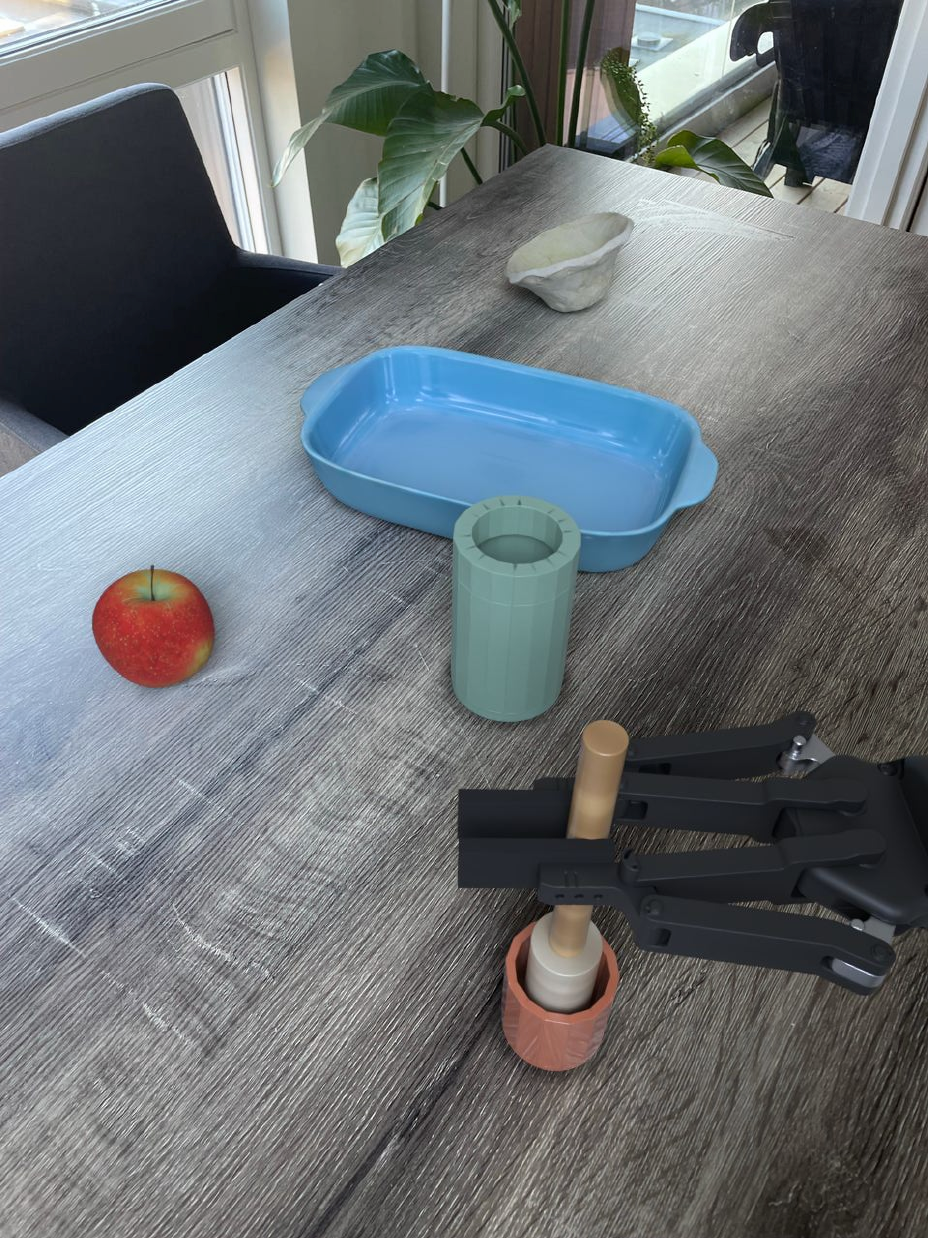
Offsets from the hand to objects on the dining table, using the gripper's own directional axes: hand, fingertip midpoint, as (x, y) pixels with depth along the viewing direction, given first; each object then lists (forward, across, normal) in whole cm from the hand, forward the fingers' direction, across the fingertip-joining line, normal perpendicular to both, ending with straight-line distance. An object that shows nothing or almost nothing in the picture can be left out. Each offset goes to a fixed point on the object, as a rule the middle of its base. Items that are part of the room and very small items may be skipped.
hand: (459, 838), depth 43 cm
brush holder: (-6, 0, -18) cm, 19 cm away
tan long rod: (-6, 0, -17) cm, 18 cm away
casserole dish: (-4, +49, -18) cm, 52 cm away
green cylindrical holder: (-4, +26, -18) cm, 32 cm away
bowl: (-13, +85, -18) cm, 88 cm away
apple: (+21, +26, -18) cm, 38 cm away
